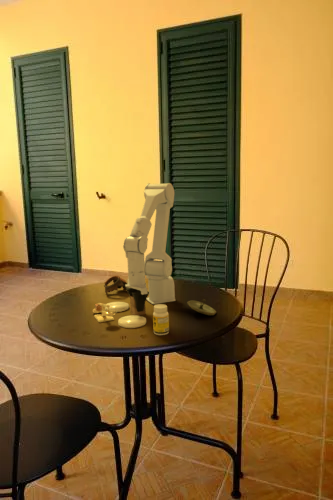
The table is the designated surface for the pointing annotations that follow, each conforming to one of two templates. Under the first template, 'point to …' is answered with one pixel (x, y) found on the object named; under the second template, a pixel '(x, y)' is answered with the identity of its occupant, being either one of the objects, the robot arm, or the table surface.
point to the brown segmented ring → (115, 284)
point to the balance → (103, 313)
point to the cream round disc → (132, 321)
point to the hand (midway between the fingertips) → (137, 309)
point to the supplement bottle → (160, 320)
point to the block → (133, 307)
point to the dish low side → (117, 306)
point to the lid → (201, 307)
